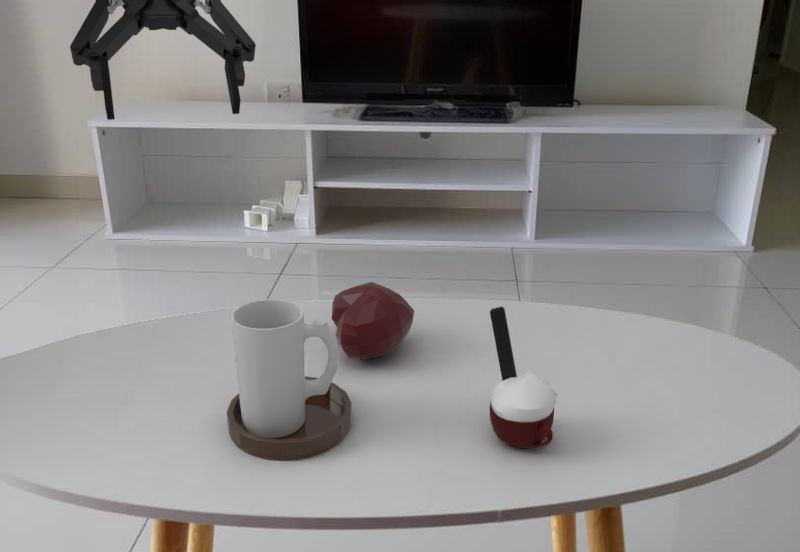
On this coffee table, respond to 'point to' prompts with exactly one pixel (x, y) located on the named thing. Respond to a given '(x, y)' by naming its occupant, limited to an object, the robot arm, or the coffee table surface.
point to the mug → (277, 365)
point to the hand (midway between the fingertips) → (174, 110)
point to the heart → (370, 320)
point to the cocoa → (519, 396)
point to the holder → (316, 435)
